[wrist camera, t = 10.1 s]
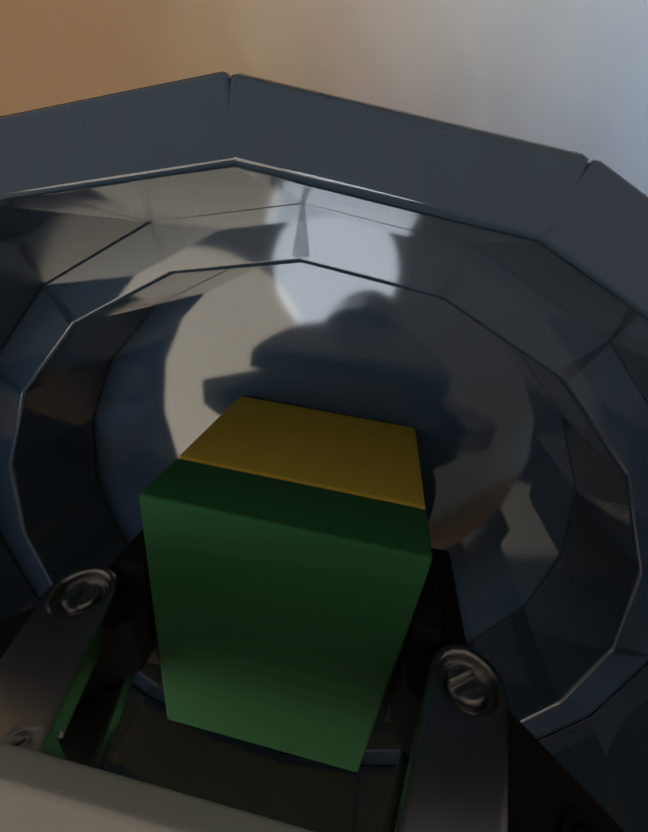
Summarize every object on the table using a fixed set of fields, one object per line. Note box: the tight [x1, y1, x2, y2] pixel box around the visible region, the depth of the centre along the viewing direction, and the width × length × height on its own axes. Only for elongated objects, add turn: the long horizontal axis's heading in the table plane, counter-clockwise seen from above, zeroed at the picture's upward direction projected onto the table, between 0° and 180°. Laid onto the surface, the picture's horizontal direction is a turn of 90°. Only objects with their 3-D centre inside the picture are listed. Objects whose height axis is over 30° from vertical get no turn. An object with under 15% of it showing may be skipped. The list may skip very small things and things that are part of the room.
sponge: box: [139, 396, 433, 772], centre depth 9 cm, size 5×7×4 cm
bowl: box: [0, 71, 648, 832], centre depth 9 cm, size 17×17×6 cm
